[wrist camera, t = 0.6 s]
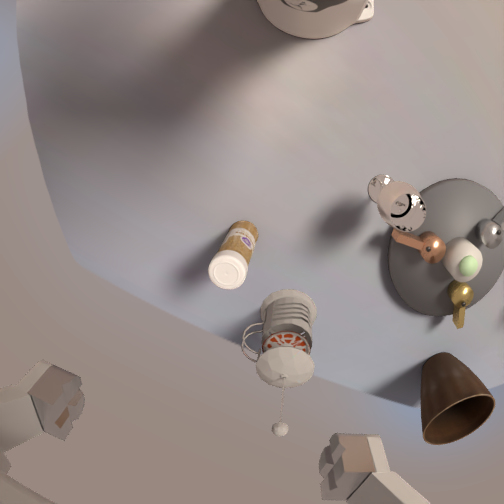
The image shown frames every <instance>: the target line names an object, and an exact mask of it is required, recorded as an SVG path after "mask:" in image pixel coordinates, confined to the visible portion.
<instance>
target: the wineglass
mask: <svg viewBox="0 0 504 504" xmlns="http://www.w3.org/2000/svg"><path fill="white" fill-rule="evenodd" d="M368 191H369V195H370V197H371V199H372V200H373V201H375V202H376V203H377V208H378V211H379V214H380V216H381V218H382V219H383V220H384V221H385V222H386V223H387V224H388V225H389V226H391V227H393V228H395V229H397V230H400V231H403V232H410V231H414V230H416V229H417V228H419V227H420V226H421V225H422V223H423V222H424V220H425V217H426V206H425V203H424V200H423V198H422V196H421V195H420V193H419V192H418V191H417V190H416V189H415V188H414V187H413V186H412V185H410V184H408V183H406V182H402V181H394V180H393V179H392V178H391V177H389V176H387V175H378V176H376V177H374V178H373V179H372V180H371V182H370V184H369V188H368Z"/></svg>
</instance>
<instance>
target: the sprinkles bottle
mask: <svg viewBox="0 0 504 504" xmlns="http://www.w3.org/2000/svg"><path fill="white" fill-rule="evenodd" d="M257 239H258V232H257V230H256V228H255V226H254V225H253V224H252V223H250V222H247V221H238V222H236V223H234V224H233V225H232V226H231V228H230V230H229V233H228V234H227V236H226V237H225V239H224V241H223V243H222V245H221V246H220V248H219V250H218V253H217V254H216V255H214V257H213V258H212V260H211V262H210V264H209V267H208V274H209V277H210V279H211V281H212V282H213V283H214V284H215V285H216V286H218V287H220V288H222V289H227V290H230V289H235V288H237V287H239V286H240V285H242V283H243V282H244V280H245V278H246V275H247V272H248V264H249V261H250V258H251V257H252V254H253V251H254V248H255V243H256V241H257Z"/></svg>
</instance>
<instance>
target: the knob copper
mask: <svg viewBox="0 0 504 504" xmlns="http://www.w3.org/2000/svg"><path fill="white" fill-rule="evenodd" d="M391 235H392V237H393V238H394V239H395V241H396V242H399V243H402V244H405V245H408V246H410V247H413V248H416V249H417V251H418V252H419V254H420V255H421V256H422V257H423V259H424V260H425V261H426V262H427V263H430V264H434V263H437V262H439V261H440V260H441V259H442V258H443V257H444V255H445V252H446V246H445V243H444V242H443V241H442V240H441V239H440V238H439V237H438V236H437V235H436V234H435V233H434V232H432V231H426V232H424V233H422V234H421V235H420V236H416V235H413V234H411V233H408V232H403V231H400V230H397V229H395V228H394V229H393V232H392V234H391Z"/></svg>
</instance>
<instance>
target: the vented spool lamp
mask: <svg viewBox="0 0 504 504" xmlns="http://www.w3.org/2000/svg"><path fill="white" fill-rule="evenodd" d="M260 312H261V319H262V321H263V322H262V323H256V324H252V325H250V326H249V327H247V328H246V329H245V331H244V332H243V337H242V339H243V341H242V345H241V348H242V351H243V353H244V355H245V356H246V357H247V358H248V359H250V360H252V361H254V362H257V363H256V370H257V373H258V375H259V377H260V378H261V379H262V380H263V381H265V382H266V383H268V384H269V385H272V386H276V387H279V388H283V391H282V404H281V414H280V423H275V424H274V425H273V426H272V432H273V433H274V434H275V435H276V436H283V435H285V434H286V433H287V432H288V426H287V425H286V424H284V423H282V411H283V399H284V388H292V387H296V386H300V385H302V384H303V383H305V382H307V381H308V380H309V379H310V378H311V376H312V375H313V373H314V363H313V361H312V359H311V357H310V356H309V354H310V349H311V347H312V325H313V323H314V321H315V319H316V312H317V308H316V306H315V304H314V302H313V300H312V299H311V298H310V297H308V296H307V295H306V294H305V293H303V292H300V291H297V290H294V289H288V290H280V291H277V292H274V293H272V294H270V295H269V296H268V297H267V298H266V299H265V300H264V301H263V304H262V306H261V309H260ZM260 324H263V329H262V330H261V331H255V332H252V333H249V334H248V335H247V336H246V337H245V338H244V336H245V333H246V331H247V330H248V329H249V328H250V327H252V326H254V325H260ZM269 331H270V332H271V335H270V333H269ZM259 332H263V336H262V350H263V354H262V355H261V356H260V353H261V349H259V352H255V351H253V350H251V349H250V348H249V347H248V346H247V345H246V343H245V339H246V338H247V337H248V336H249V335H250V334H253V333H259ZM303 332H305V333H304V334H302V335H301V333H303ZM268 336H269V337H268ZM303 336H305V337H303ZM243 344H245V346H246V347H247V348H248V349H249V350H250V351H252V352H253V353H256V354H258V359H257V361H256V360H253V359H251V358H250V357H249V356H247V354H246V353H245V351H244V349H243Z"/></svg>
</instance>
